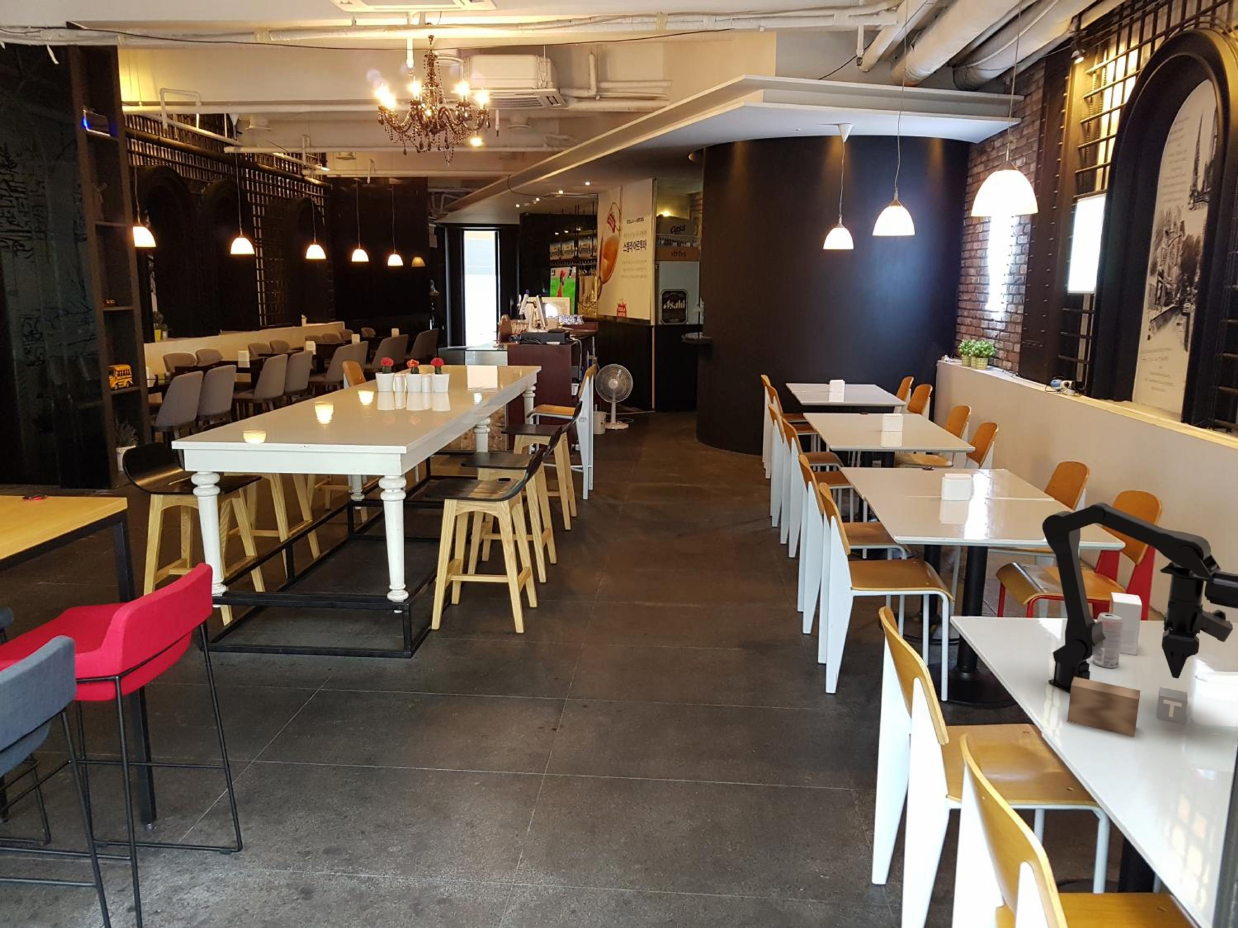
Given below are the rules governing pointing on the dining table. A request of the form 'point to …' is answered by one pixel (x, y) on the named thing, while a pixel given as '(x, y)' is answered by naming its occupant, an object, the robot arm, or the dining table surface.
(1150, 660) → the dining table surface
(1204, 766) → the dining table surface
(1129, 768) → the dining table surface
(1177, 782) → the dining table surface
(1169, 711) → the letter cube
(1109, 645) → the energy drink
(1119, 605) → the small box
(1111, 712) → the brown wooden block
